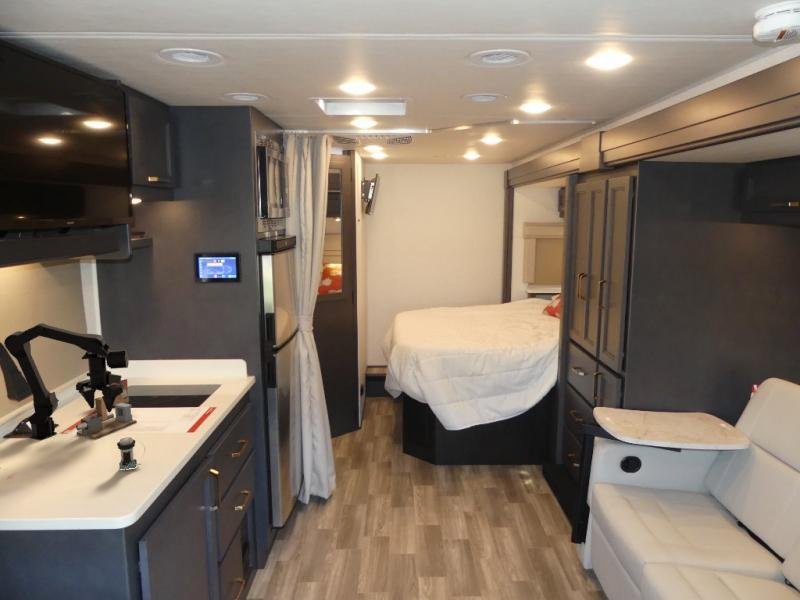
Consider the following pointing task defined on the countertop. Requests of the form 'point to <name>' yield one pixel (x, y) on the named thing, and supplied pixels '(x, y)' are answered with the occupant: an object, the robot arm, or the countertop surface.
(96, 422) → the outer sleeve
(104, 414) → the sliding bolt with handle
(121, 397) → the small box
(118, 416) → the socket
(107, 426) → the base plate
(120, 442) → the push button
